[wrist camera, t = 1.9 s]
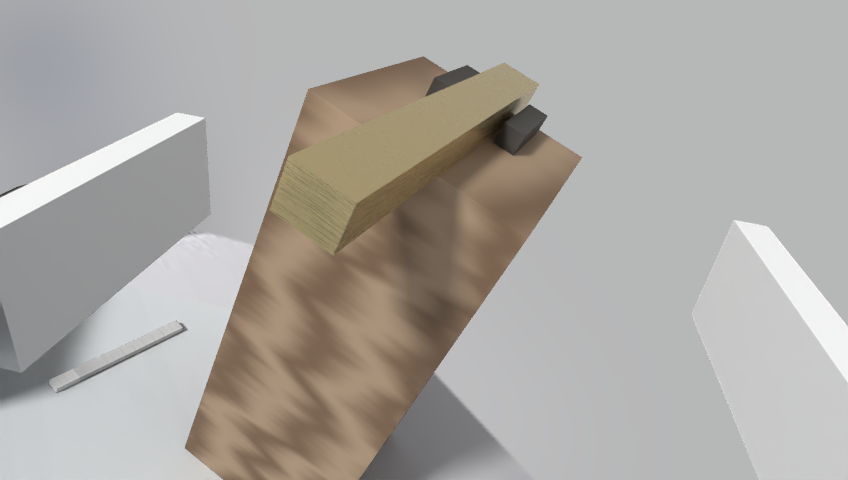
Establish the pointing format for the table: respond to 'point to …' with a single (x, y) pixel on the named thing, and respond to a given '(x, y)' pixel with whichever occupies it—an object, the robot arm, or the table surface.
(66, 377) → the ruler
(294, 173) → the light wood bar
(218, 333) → the table surface
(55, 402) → the table surface
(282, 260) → the walnut stand
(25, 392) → the table surface
